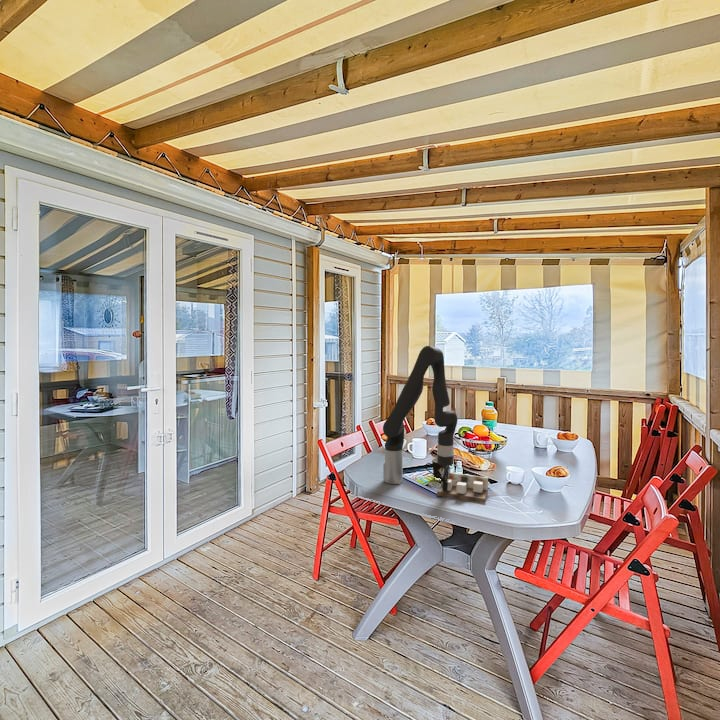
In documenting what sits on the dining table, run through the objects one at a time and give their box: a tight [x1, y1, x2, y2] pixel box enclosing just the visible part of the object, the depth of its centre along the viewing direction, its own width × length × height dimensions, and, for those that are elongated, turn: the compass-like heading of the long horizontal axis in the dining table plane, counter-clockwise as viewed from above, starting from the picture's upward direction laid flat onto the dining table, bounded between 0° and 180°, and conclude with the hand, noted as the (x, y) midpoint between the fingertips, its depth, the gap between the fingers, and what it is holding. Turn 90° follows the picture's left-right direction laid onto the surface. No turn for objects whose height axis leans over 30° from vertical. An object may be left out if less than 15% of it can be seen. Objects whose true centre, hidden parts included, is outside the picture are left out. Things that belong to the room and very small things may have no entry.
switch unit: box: [436, 472, 489, 504], centre depth 198 cm, size 22×12×8 cm, turn 67°
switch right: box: [473, 481, 483, 493], centre depth 197 cm, size 4×4×4 cm
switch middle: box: [456, 482, 467, 494], centre depth 195 cm, size 4×4×4 cm
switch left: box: [442, 479, 452, 491], centre depth 199 cm, size 4×4×4 cm
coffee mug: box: [424, 457, 442, 478], centre depth 220 cm, size 12×9×10 cm
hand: (445, 489), depth 195 cm, fingers closed
